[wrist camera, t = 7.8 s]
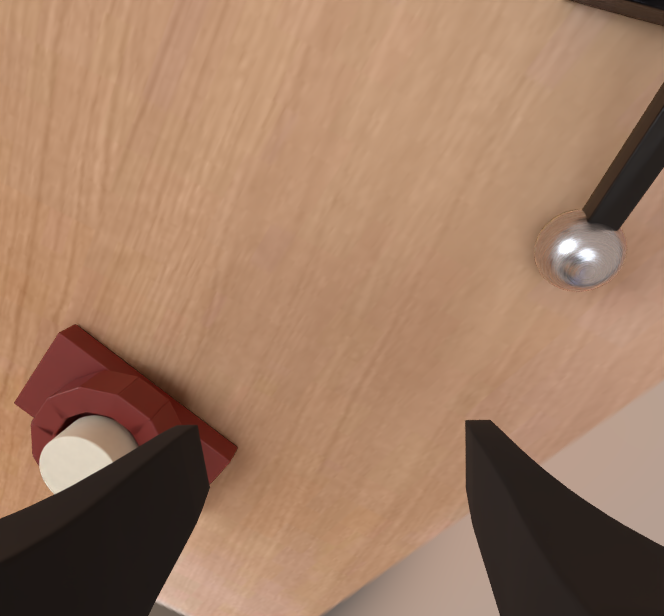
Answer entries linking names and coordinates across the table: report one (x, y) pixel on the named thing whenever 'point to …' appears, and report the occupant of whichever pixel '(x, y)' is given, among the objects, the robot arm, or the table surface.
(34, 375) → the block
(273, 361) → the table surface
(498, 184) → the table surface
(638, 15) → the black pivot stand
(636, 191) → the lever
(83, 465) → the button
